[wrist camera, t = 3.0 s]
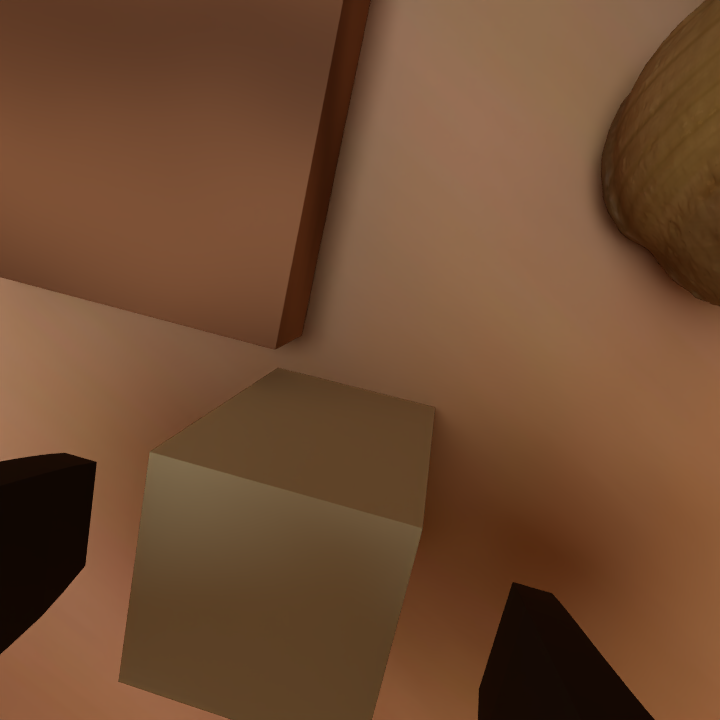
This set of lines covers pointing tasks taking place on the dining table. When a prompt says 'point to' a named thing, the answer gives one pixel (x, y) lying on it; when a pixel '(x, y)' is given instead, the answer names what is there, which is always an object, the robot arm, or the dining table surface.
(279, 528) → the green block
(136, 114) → the walnut block
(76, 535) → the robot arm
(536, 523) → the dining table surface
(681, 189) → the fennel bulb
